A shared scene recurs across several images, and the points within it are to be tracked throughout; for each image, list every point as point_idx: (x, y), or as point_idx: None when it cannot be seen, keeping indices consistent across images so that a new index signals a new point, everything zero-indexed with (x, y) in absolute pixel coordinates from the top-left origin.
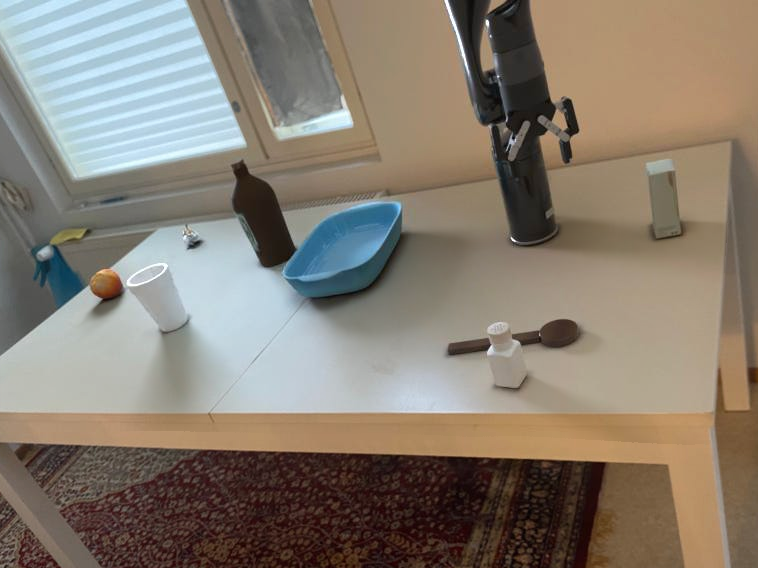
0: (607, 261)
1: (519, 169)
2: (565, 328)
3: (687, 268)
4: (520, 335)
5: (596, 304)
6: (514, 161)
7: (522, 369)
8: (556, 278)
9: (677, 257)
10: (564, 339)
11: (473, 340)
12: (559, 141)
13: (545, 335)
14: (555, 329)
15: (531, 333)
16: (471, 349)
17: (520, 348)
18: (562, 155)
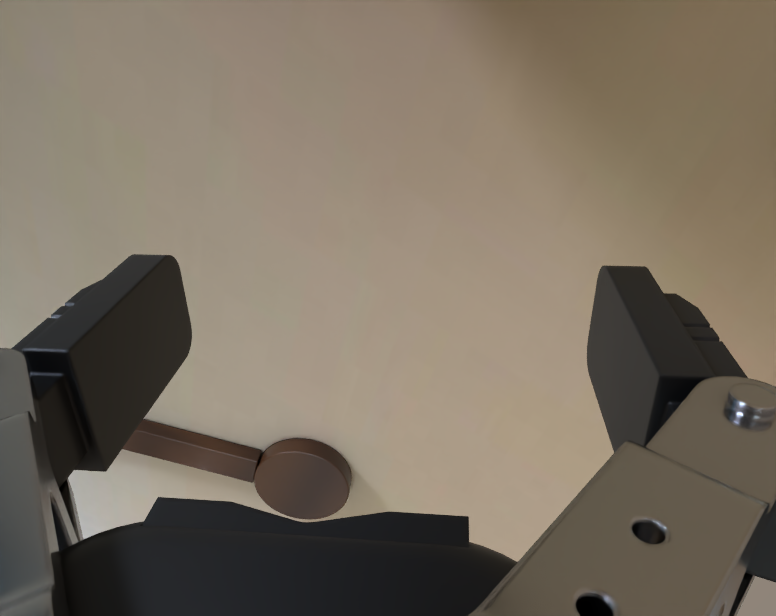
0: (567, 211)
1: (153, 400)
2: (318, 490)
3: None
4: (208, 457)
5: (429, 409)
6: (79, 464)
7: None
8: (368, 214)
9: (753, 324)
10: (307, 518)
11: None
12: (652, 410)
13: (267, 491)
14: (295, 483)
15: (236, 464)
16: None
17: None
18: (610, 323)
